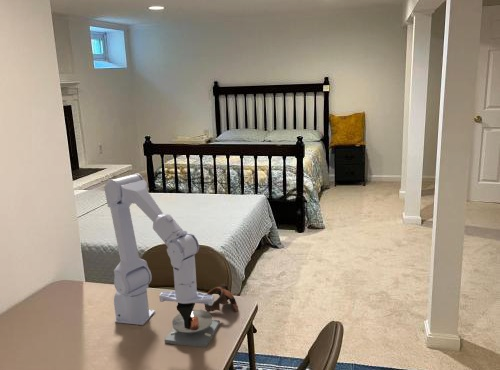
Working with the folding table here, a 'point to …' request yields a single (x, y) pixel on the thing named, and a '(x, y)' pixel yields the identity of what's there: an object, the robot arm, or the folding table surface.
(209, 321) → the handwheel
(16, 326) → the folding table surface
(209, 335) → the wheel base
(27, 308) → the folding table surface
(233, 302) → the brown curved ring
